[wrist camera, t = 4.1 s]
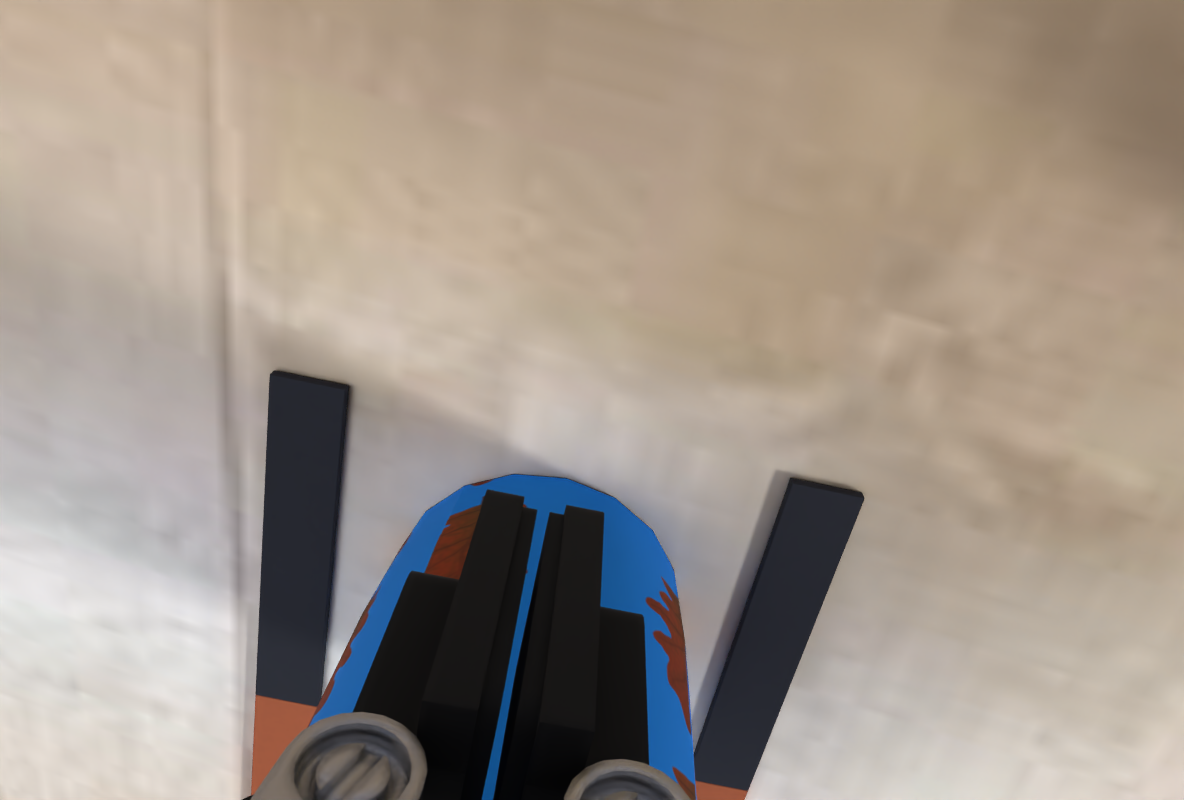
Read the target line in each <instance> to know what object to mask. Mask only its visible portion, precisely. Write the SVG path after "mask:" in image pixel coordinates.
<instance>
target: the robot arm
mask: <svg viewBox="0 0 1184 800" xmlns="http://www.w3.org/2000/svg"><path fill="white" fill-rule="evenodd" d="M524 498H525V497H524V496H519V495H514V494H509V493H504V492H499V491H494V490H489V489H487V491H486V494H485V497H484V500H483V503H482V507H481V510H480V513H479V516H478V520H477V523H476V526H475V529H474V533H473V536H472V539H471V542H470V546H469V549H468V552H467V555H466V559H465V562H464V565H463V568H462V572H461V575H460V578H459V579H454V578H448V577H443V576H438V575H433V574H427V573H422V572H417V571H411V572H410V573H409V575H408V577H407V579H406V581H405V584H404V586H403V589H402V591H401V594H400V596H399V599H398V601H397V603H396V606H395V608H394V611H393V613H392V616H391V618H390V621H389V623H388V626H387V628H386V631H385V633H384V636H383V638H382V641H381V643H380V645H379V648H378V650H377V653H376V655H375V658H374V660H373V663H372V665H371V668H370V670H369V673H368V675H367V678H366V680H365V682H364V685H363V687H362V690H361V692H360V695H359V697H358V700H357V702H356V705H355V707H354V710H353V712H352V713H341V714H338V715H334V716H331V717H328V718H325V719H321V720H319V721H317V722H316V723H314V724H312V725H311V726H309V727H307V728H306V729H304V730H302V731H301V732H300V733H299V734H298V735H297V736H296V737H295V738H294V739H293V741H292V742H291V743H290V744H289V745H288V746H287V747H286V748H285V750H284V751H283V753H282V754H281V756H280V757H279V759H278V760H277V761H276V763H275V764H274V766H273V767H272V769H271V770H270V772H269V773H268V774H267V776H266V777H265V779H264V780H263V782H262V783H261V785H260V786H259V788H258V789H257V790H256V792H255V793H254V794H253V795H251V796H249V797H247V798H245V799H243V800H482V795H483V791H484V786H485V781H486V776H487V772H488V767H489V762H490V757H491V753H492V748H493V743H494V738H495V733H496V729H497V724H498V719H499V714H500V708H501V703H502V698H503V693H504V688H505V682H506V677H507V671H508V666H509V661H510V655H511V650H512V645H513V639H514V634H515V629H516V623H517V618H518V612H519V607H520V602H521V596H522V591H523V586H524V580H525V575H526V570H527V564H528V559H529V553H530V548H531V543H532V537H533V532H534V527H535V521H536V516H537V509H532V508H527V507H523V503H524ZM603 535H604V512H601V511H596V510H591V509H586V508H581V507H575V506H570V505H566V508H565V512H564V515H563V514H558V513H553V512H550V513H549V517H548V521H547V526H546V531H545V535H544V540H543V545H542V549H541V554H540V559H539V563H538V568H537V573H536V577H535V582H534V587H533V591H532V596H531V601H530V605H529V610H528V615H527V619H526V624H525V629H524V633H523V638H522V643H521V647H520V652H519V657H518V662H517V666H516V672H515V677H514V682H513V688H512V693H511V699H510V705H509V711H508V716H507V722H506V728H505V734H504V739H503V745H502V751H501V757H500V762H499V768H498V774H497V780H496V785H495V791H494V797H493V800H691V799H690V798H689V796H688V795H687V794H686V793H685V791H684V790H683V789H682V788H681V786H680V785H679V784H678V783H676V782H675V781H674V780H673V779H671V778H670V777H669V776H667V775H666V774H665V773H664V772H662V771H660V770H658V769H656V768H653V767H651V766H649V744H648V713H647V682H646V652H645V624H644V617H643V615H642V614H638V613H632V612H627V611H622V610H617V609H611V608H606V607H601V606H600V603H601V580H602V558H603Z"/></svg>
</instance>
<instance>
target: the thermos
mask: <svg viewBox="0 0 1184 800" xmlns="http://www.w3.org/2000/svg"><path fill="white" fill-rule="evenodd" d="M487 489H489V490H494V491H499V492H504V493H509V494H514V495H519V496H524V497H525V498H524V503H523V507H527V508H532V509H537V516H536V521H535V527H534V532H533V537H532V543H531V548H530V553H529V559H528V564H527V570H526V575H525V580H524V586H523V591H522V596H521V602H520V607H519V612H518V618H517V623H516V629H515V634H514V639H513V645H512V650H511V655H510V661H509V666H508V671H507V677H506V682H505V688H504V693H503V698H502V703H501V708H500V714H499V719H498V724H497V729H496V733H495V738H494V743H493V748H492V753H491V757H490V762H489V767H488V772H487V776H486V781H485V786H484V791H483V795H482V800H493V797H494V791H495V785H496V780H497V774H498V768H499V762H500V757H501V751H502V745H503V739H504V734H505V728H506V722H507V716H508V711H509V705H510V699H511V693H512V688H513V682H514V677H515V672H516V666H517V662H518V657H519V652H520V647H521V643H522V638H523V633H524V629H525V624H526V619H527V615H528V610H529V605H530V601H531V596H532V591H533V587H534V582H535V577H536V573H537V568H538V563H539V559H540V554H541V549H542V545H543V540H544V535H545V531H546V526H547V521H548V517H549V513H550V512H553V513H558V514H563V515H564V512H565V508H566V505H570V506H575V507H581V508H586V509H591V510H596V511H601V512H604V535H603V558H602V580H601V603H600V606H601V607H606V608H611V609H617V610H622V611H627V612H632V613H638V614H642V615H643V617H644V624H645V652H646V682H647V713H648V744H649V766H651V767H653V768H656V769H658V770H660V771H662V772H664V773H665V774H666V775H667V776H669V777H670V778H671V779H673V780H674V781H675V782H676V783H678V784H679V785H680V786H681V788H682V789H683V790H684V791H685V793H686V794H687V795H688V796H689V798H690V799H691V800H697V795H696V781H695V767H694V753H693V739H692V725H691V711H690V697H689V684H688V672H687V661H686V649H685V639H684V632H683V626H682V619H681V613H680V606H679V600H678V593H677V587H676V580H675V574H674V569H673V567H672V565H671V563H670V561H669V560H668V558H667V556H666V554H665V552H664V550H663V549H662V547H661V545H660V543H659V541H658V539H657V538H656V536H655V534H654V532H653V530H652V529H651V528H649V527H648V526H647V525H646V524H645V523H644V522H642V521H641V520H640V519H639V518H638V517H637V516H635V515H634V514H633V513H632V512H631V511H630V510H628V509H627V508H626V507H625V506H624V505H623V504H621V503H620V502H619V501H618V500H617V499H616V498H614V497H611V496H609V495H606V494H604V493H601V492H599V491H596V490H594V489H591V488H589V487H587V486H584V485H582V484H579V483H577V482H574V481H572V480H569V479H567V478H555V477H543V476H530V475H518V474H513V475H508V476H504V477H500V478H496V479H492V480H487V481H483V482H479V483H475V484H471V485H466V486H464V487H462V488H461V489H459V490H458V491H456V492H455V493H453V494H452V495H450V496H448V497H447V498H445V499H444V500H442V501H441V502H439V503H438V504H436V505H435V506H433V507H432V508H430V509H429V510H427V511H426V512H425V513H424V515H423V516H422V517H421V519H420V520H419V522H418V523H417V525H416V526H415V528H414V529H413V531H412V532H411V534H410V535H409V537H408V538H407V540H406V541H405V542H404V544H403V545H402V547H401V549H400V550H399V552H398V554H397V555H396V557H395V559H394V561H393V562H392V564H391V566H390V567H389V569H388V571H387V573H386V574H385V576H384V578H383V579H382V581H381V583H380V584H379V586H378V588H377V590H376V591H375V593H374V595H373V596H372V598H371V600H370V602H369V603H368V605H367V607H366V608H365V610H364V612H363V614H362V616H361V618H360V620H359V622H358V624H357V626H356V628H355V630H354V632H353V634H352V636H351V638H350V640H349V642H348V645H347V647H346V649H345V651H344V653H343V655H342V657H341V659H340V661H339V663H338V665H337V667H336V669H335V671H334V673H333V675H332V677H331V680H330V682H329V684H328V686H327V688H326V690H325V692H324V694H323V696H322V698H321V700H320V702H319V704H318V706H317V708H316V710H315V712H314V715H313V717H312V719H311V721H310V723H309V725H308V727H309V726H311V725H312V724H314V723H316V722H317V721H319V720H321V719H325V718H328V717H331V716H334V715H338V714H341V713H352V712H353V710H354V707H355V705H356V702H357V700H358V697H359V695H360V692H361V690H362V687H363V685H364V682H365V680H366V678H367V675H368V673H369V670H370V668H371V665H372V663H373V660H374V658H375V655H376V653H377V650H378V648H379V645H380V643H381V641H382V638H383V636H384V633H385V631H386V628H387V626H388V623H389V621H390V618H391V616H392V613H393V611H394V608H395V606H396V603H397V601H398V599H399V596H400V594H401V591H402V589H403V586H404V584H405V581H406V579H407V577H408V575H409V573H410V572H411V571H417V572H422V573H427V574H433V575H438V576H443V577H448V578H454V579H459V578H460V575H461V572H462V568H463V565H464V562H465V559H466V555H467V552H468V549H469V546H470V542H471V539H472V536H473V533H474V529H475V526H476V523H477V520H478V516H479V513H480V510H481V507H482V503H483V500H484V497H485V494H486V491H487Z"/></svg>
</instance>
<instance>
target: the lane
mask: <svg viewBox="0 0 1184 800" xmlns="http://www.w3.org/2000/svg"><path fill="white" fill-rule="evenodd" d="M348 390H349V386H347V385H343V384H338V383H333V382H328V381H323V380H319V379H314V378H309V377H304V376H299V375H295V374H290V373H285V372H280V371H273V372H272V373H271V374H270V382H269V405H268V427H267V450H266V473H265V495H264V518H263V540H262V563H261V586H260V608H259V631H258V653H257V676H256V699H255V721H254V744H253V767H252V789H251V795H253V794H254V793H255V792H256V790H257V789H258V788H259V786H260V785H261V783H262V782H263V780H264V779H265V777H266V776H267V774H268V773H269V772H270V770H271V769H272V767H273V766H274V764H275V763H276V761H277V760H278V759H279V757H280V756H281V754H282V753H283V751H284V750H285V748H286V747H287V746H288V745H289V744H290V743H291V742H292V741H293V739H294V738H295V737H296V736H297V735H298V734H299V733H300V732H301V731H302V730H304V729H306V728H307V727H308V725H309V723H310V721H311V719H312V717H313V715H314V712H315V710H316V708H317V706H318V704H319V702H320V700H321V695H322V684H323V673H324V661H325V650H326V639H327V627H328V616H329V605H330V593H331V582H332V571H333V560H334V548H335V537H336V526H337V514H338V503H339V492H340V480H341V469H342V458H343V446H344V435H345V424H346V412H347V401H348ZM863 501H864V496H863V494H862V493H861V492H856V491H852V490H847V489H842V488H837V487H832V486H828V485H823V484H818V483H813V482H808V481H804V480H799V479H794V478H791V479H790V481H789V484H788V487H787V489H786V492H785V495H784V498H783V501H782V504H781V507H780V509H779V512H778V515H777V518H776V521H775V524H774V526H773V529H772V532H771V535H770V538H769V541H768V544H767V546H766V549H765V552H764V555H763V558H762V561H761V564H760V566H759V569H758V572H757V575H756V578H755V581H754V583H753V586H752V589H751V592H750V595H749V598H748V601H747V603H746V606H745V609H744V612H743V615H742V618H741V620H740V623H739V626H738V629H737V632H736V635H735V638H734V640H733V643H732V646H731V649H730V652H729V655H728V658H727V660H726V663H725V666H724V669H723V672H722V675H721V677H720V680H719V683H718V686H717V689H716V692H715V695H714V697H713V700H712V703H711V706H710V709H709V712H708V715H707V717H706V720H705V723H704V726H703V729H702V732H701V734H700V737H699V740H698V743H697V746H696V749H695V752H694V767H695V781H696V795H697V800H744V799H745V797H746V794H747V792H748V789H749V787H750V784H751V782H752V779H753V777H754V774H755V772H756V769H757V767H758V764H759V762H760V759H761V757H762V754H763V752H764V749H765V747H766V744H767V742H768V739H769V737H770V734H771V732H772V729H773V727H774V724H775V722H776V719H777V717H778V714H779V712H780V709H781V707H782V704H783V702H784V699H785V697H786V694H787V692H788V689H789V687H790V684H791V681H792V679H793V676H794V674H795V671H796V669H797V666H798V664H799V661H800V659H801V656H802V654H803V651H804V649H805V646H806V644H807V641H808V639H809V636H810V634H811V631H812V629H813V626H814V624H815V621H816V619H817V616H818V614H819V611H820V609H821V606H822V604H823V601H824V599H825V596H826V594H827V591H828V589H829V586H830V584H831V581H832V579H833V576H834V574H835V571H836V569H837V566H838V564H839V561H840V559H841V556H842V554H843V551H844V549H845V546H846V544H847V541H848V539H849V536H850V534H851V531H852V529H853V526H854V524H855V521H856V519H857V516H858V514H859V511H860V509H861V506H862V504H863Z"/></svg>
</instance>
